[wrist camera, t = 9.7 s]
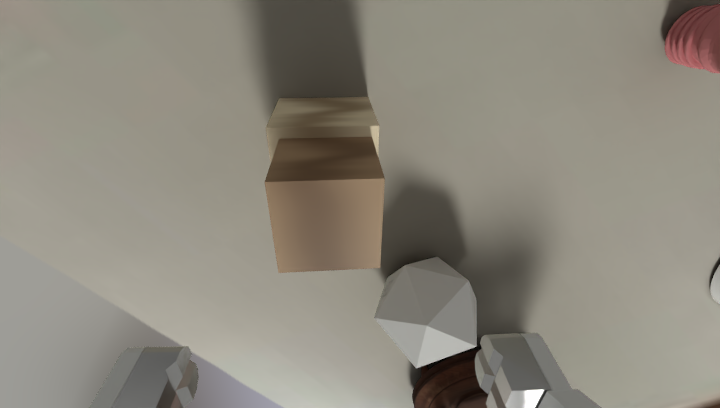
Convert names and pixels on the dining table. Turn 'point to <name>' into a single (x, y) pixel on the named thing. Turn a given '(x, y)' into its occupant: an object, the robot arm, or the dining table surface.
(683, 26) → the light bulb
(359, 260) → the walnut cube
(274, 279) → the dining table surface
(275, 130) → the oak cube
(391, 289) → the die
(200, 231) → the dining table surface
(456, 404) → the scroll
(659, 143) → the dining table surface
